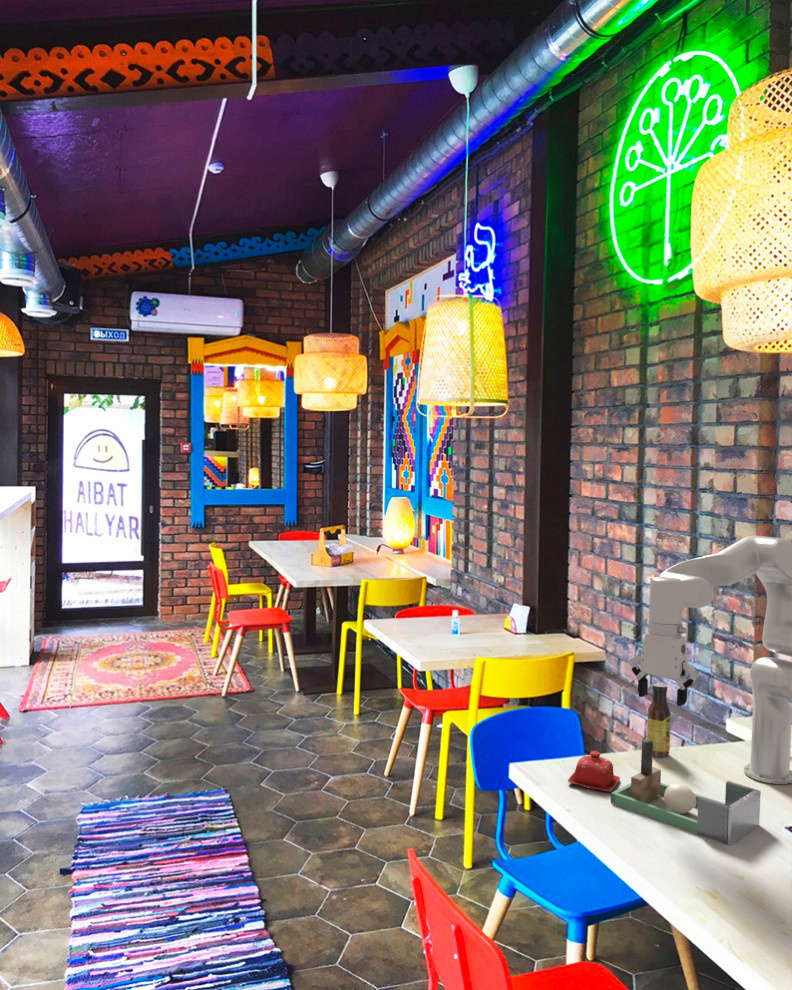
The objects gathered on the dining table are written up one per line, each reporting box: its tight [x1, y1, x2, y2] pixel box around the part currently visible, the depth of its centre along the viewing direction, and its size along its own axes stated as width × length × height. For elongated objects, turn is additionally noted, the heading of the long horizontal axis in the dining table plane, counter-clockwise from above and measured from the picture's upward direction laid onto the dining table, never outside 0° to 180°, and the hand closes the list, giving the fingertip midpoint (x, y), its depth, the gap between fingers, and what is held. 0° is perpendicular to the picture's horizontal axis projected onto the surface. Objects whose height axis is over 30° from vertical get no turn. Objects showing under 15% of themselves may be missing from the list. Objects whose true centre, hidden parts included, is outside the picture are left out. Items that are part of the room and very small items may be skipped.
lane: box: [610, 782, 725, 834], centre depth 199 cm, size 15×22×2 cm
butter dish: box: [567, 750, 621, 792], centre depth 214 cm, size 12×12×8 cm
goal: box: [696, 780, 762, 846], centre depth 188 cm, size 15×8×8 cm, turn 134°
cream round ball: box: [663, 782, 697, 815], centre depth 197 cm, size 7×7×7 cm
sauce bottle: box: [646, 683, 672, 758], centre depth 235 cm, size 6×6×20 cm
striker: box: [630, 738, 662, 803], centre depth 203 cm, size 10×3×14 cm, turn 134°
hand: (661, 700), depth 198 cm, fingers open, 9 cm apart
